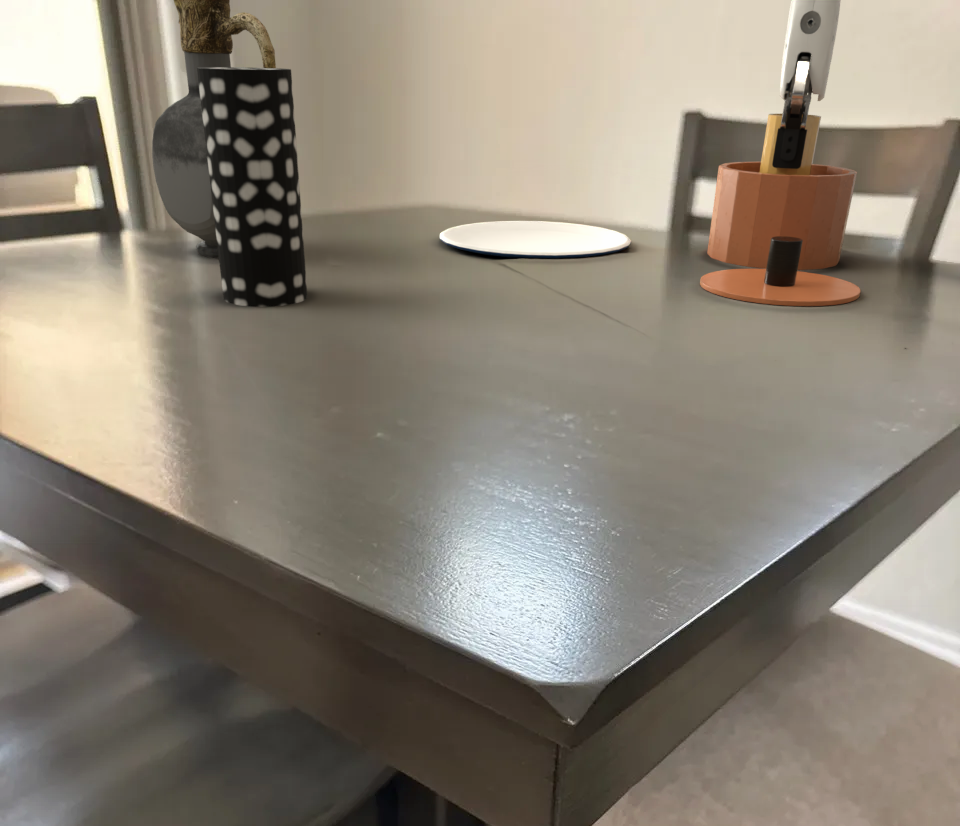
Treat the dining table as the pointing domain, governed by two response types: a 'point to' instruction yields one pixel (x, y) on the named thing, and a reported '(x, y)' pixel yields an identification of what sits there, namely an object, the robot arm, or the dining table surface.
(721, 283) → the lid
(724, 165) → the pot
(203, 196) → the pitcher
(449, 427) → the dining table surface
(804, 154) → the yellow cup
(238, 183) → the white-spotted black cylinder
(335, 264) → the dining table surface
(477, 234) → the plate
